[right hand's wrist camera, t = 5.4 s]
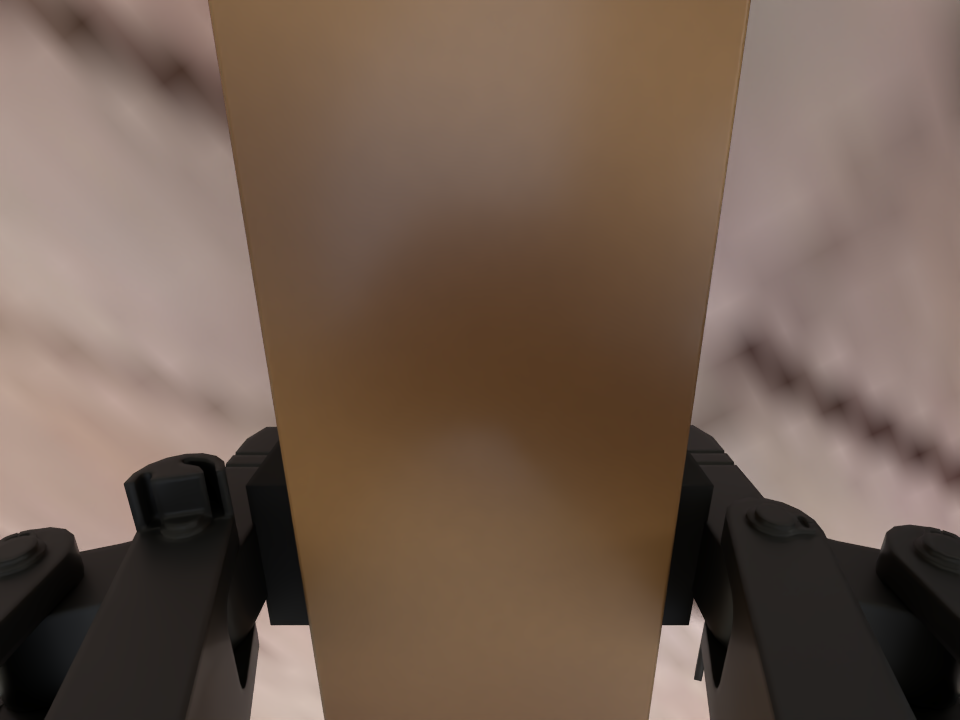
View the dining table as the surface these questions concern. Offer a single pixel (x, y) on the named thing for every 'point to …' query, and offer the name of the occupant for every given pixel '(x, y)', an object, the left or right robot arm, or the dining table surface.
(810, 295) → the dining table surface
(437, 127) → the post
